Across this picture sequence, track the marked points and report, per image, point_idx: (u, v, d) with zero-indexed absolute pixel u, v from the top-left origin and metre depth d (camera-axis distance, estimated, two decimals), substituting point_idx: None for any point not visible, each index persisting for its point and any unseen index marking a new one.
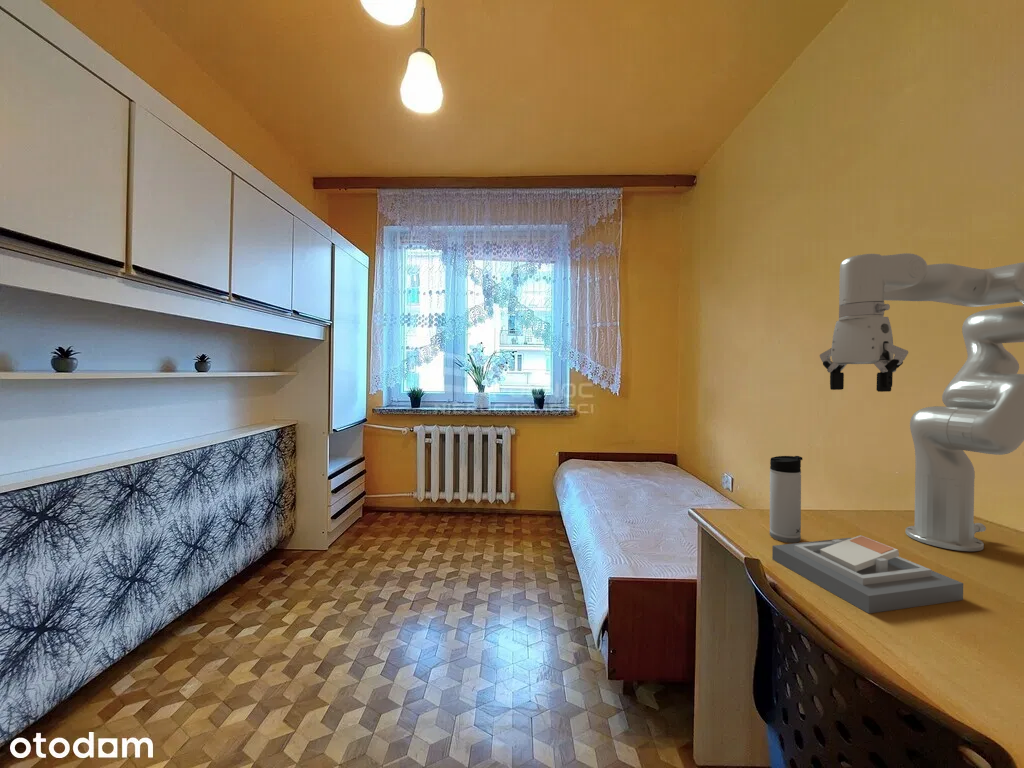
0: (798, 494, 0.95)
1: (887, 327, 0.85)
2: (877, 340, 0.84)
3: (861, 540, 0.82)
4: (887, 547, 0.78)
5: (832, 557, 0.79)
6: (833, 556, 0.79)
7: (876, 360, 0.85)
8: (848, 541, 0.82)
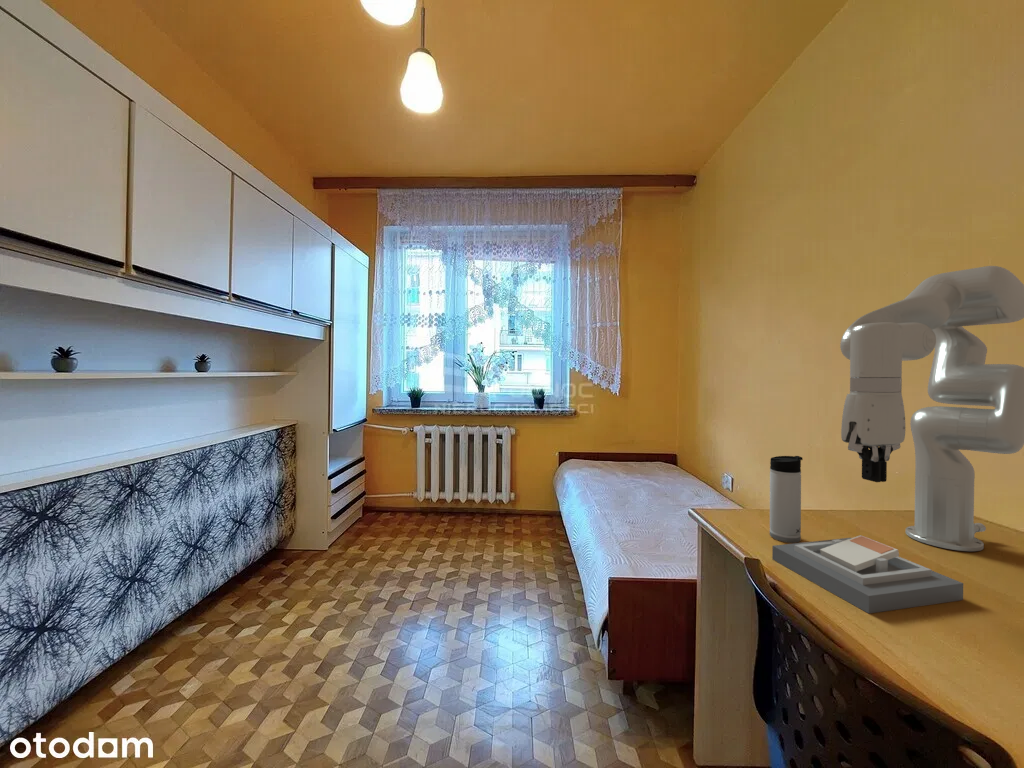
0: (798, 494, 0.95)
1: None
2: None
3: (861, 540, 0.82)
4: (887, 547, 0.78)
5: (832, 557, 0.79)
6: (833, 556, 0.79)
7: (902, 441, 0.78)
8: (848, 541, 0.82)
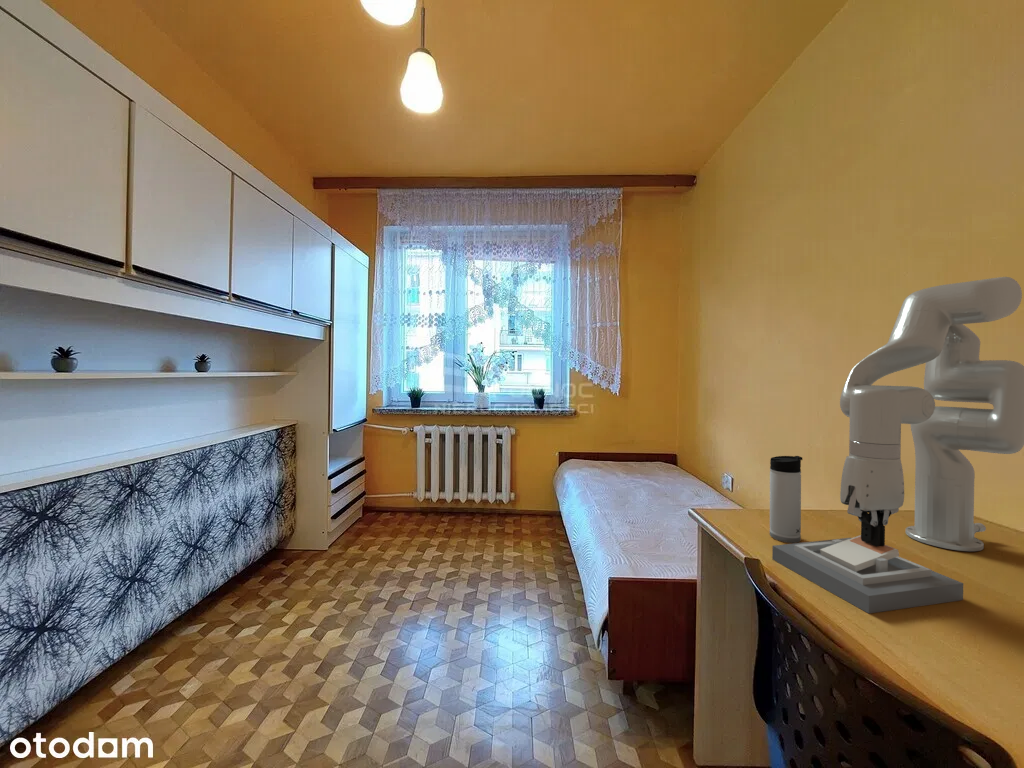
0: (798, 494, 0.95)
1: None
2: None
3: (861, 540, 0.82)
4: (887, 547, 0.78)
5: (832, 557, 0.79)
6: (833, 556, 0.79)
7: (901, 505, 0.79)
8: (848, 541, 0.82)
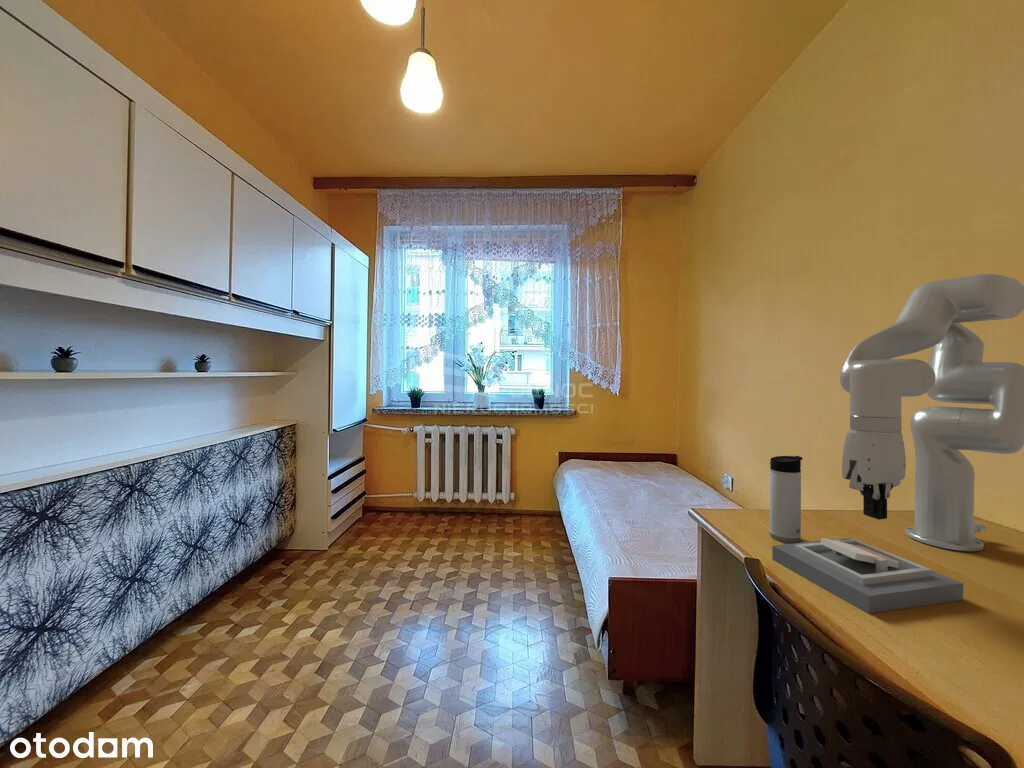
0: (798, 494, 0.95)
1: None
2: None
3: (863, 547, 0.82)
4: (888, 557, 0.78)
5: (833, 545, 0.79)
6: (835, 545, 0.79)
7: None
8: (849, 544, 0.82)
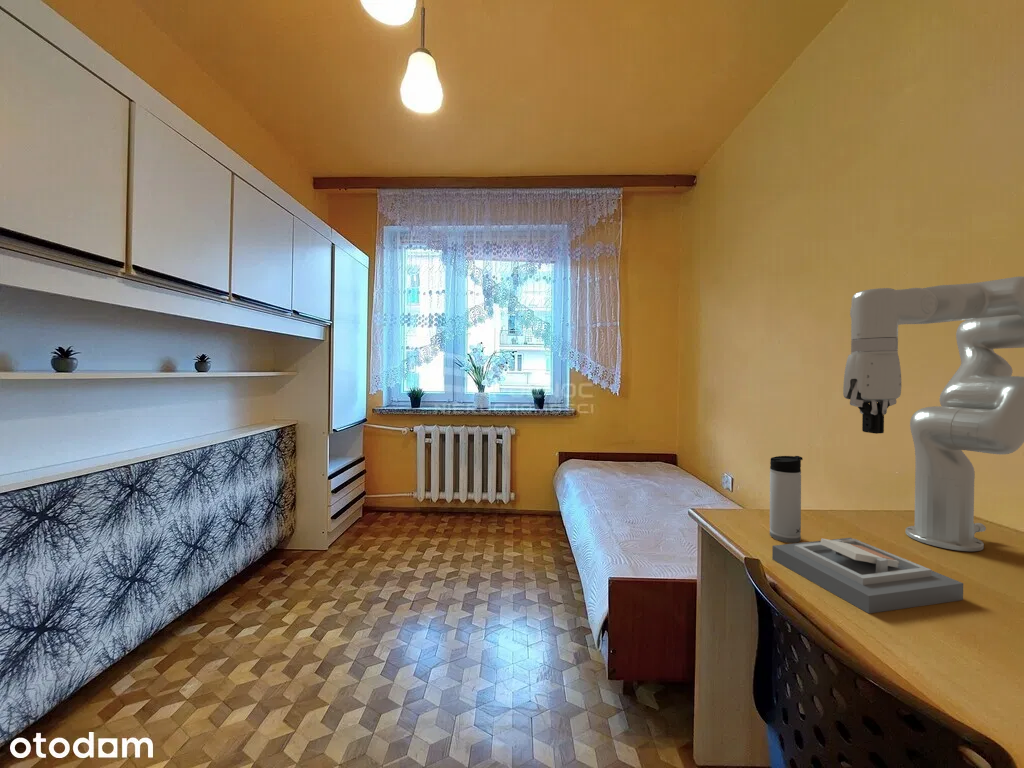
0: (798, 494, 0.95)
1: None
2: None
3: (863, 547, 0.82)
4: (888, 557, 0.78)
5: (832, 546, 0.79)
6: (834, 545, 0.79)
7: (899, 396, 0.86)
8: (849, 544, 0.82)
